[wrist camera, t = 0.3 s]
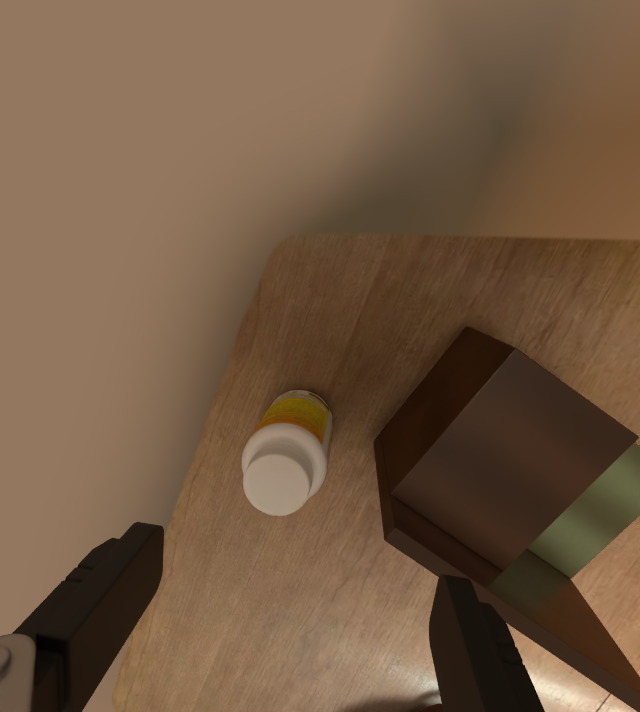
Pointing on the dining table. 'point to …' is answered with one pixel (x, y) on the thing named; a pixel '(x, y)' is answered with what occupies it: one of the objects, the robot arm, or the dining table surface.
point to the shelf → (513, 495)
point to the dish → (434, 708)
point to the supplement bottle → (288, 453)
